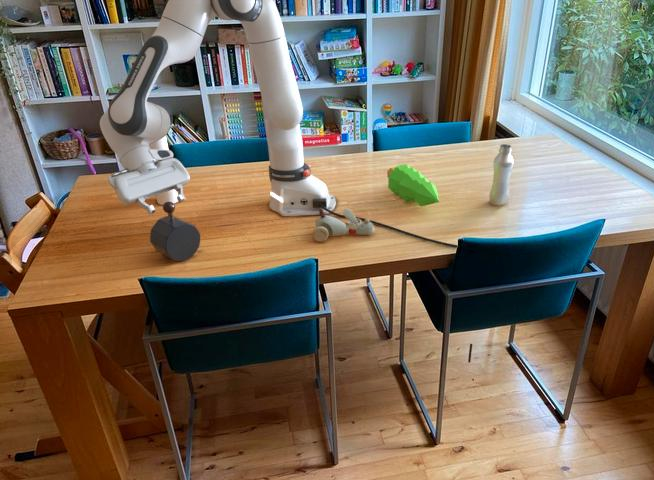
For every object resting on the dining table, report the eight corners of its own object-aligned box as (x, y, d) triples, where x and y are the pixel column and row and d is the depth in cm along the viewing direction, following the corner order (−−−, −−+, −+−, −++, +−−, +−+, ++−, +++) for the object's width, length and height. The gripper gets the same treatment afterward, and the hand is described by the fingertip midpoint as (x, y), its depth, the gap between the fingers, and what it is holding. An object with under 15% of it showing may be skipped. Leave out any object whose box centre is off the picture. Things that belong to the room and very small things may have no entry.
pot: (154, 258, 156) (141, 204, 147) (187, 243, 163) (177, 191, 155) (169, 267, 152) (157, 213, 143) (203, 251, 159) (194, 199, 150)
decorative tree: (399, 152, 193) (448, 178, 169) (409, 178, 200) (457, 206, 176) (373, 169, 191) (418, 197, 168) (384, 195, 198) (429, 226, 175)
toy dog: (377, 237, 166) (377, 210, 161) (319, 249, 159) (317, 222, 154) (361, 220, 175) (361, 194, 170) (305, 231, 169) (304, 205, 164)
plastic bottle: (509, 201, 186) (518, 144, 176) (505, 209, 181) (513, 150, 170) (491, 198, 189) (498, 141, 178) (486, 205, 183) (493, 148, 173)
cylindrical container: (172, 205, 186) (157, 133, 173) (153, 204, 187) (136, 132, 174) (182, 197, 192) (168, 126, 179) (163, 195, 193) (148, 125, 180)
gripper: (106, 169, 141) (135, 214, 141) (176, 148, 154) (202, 189, 154) (102, 181, 146) (130, 225, 145) (170, 160, 159) (195, 200, 159)
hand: (168, 206), depth 150 cm, fingers open, 8 cm apart
